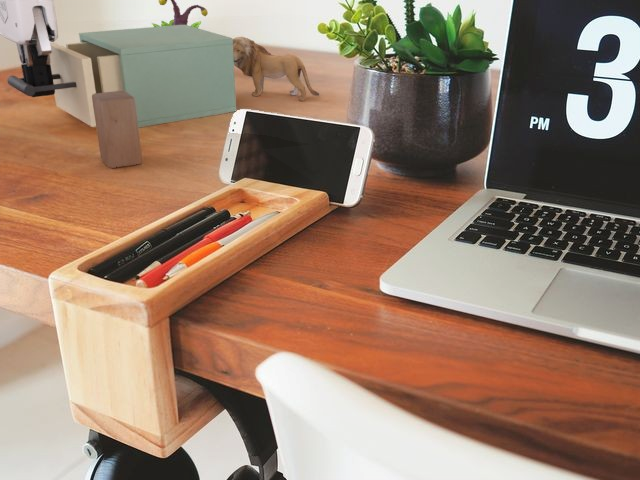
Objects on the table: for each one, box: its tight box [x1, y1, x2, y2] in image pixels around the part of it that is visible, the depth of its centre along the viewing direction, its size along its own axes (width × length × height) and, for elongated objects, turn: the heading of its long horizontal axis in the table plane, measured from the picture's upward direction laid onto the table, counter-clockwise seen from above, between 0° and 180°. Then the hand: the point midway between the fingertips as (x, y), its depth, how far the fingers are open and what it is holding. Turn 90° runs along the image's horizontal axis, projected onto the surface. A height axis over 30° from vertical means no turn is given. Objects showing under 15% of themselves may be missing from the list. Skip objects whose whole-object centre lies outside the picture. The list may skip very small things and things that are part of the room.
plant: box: [151, 0, 208, 29], centre depth 144 cm, size 20×20×11 cm
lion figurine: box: [233, 36, 320, 102], centre depth 115 cm, size 15×5×9 cm, turn 82°
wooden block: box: [92, 91, 143, 169], centre depth 84 cm, size 4×4×8 cm
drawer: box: [7, 42, 124, 128], centre depth 100 cm, size 22×13×9 cm, turn 130°
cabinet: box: [78, 24, 237, 129], centre depth 106 cm, size 17×15×11 cm
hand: (41, 94), depth 96 cm, fingers closed
